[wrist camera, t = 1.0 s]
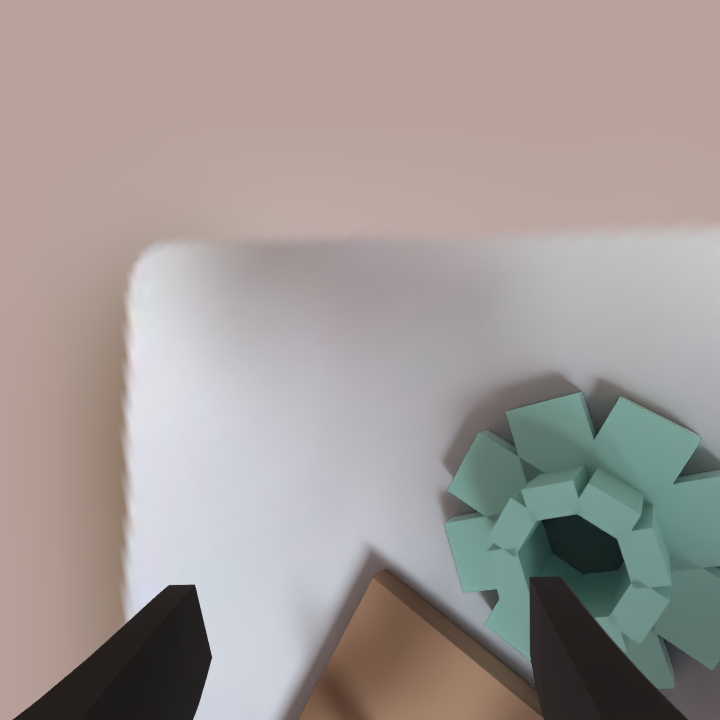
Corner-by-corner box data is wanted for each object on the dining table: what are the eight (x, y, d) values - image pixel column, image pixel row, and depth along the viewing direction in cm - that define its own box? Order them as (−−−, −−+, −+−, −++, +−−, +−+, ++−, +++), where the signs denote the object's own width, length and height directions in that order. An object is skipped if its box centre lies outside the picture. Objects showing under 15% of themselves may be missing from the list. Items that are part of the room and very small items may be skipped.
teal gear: (822, 497, 17) (869, 532, 13) (651, 734, 19) (650, 822, 15) (530, 349, 21) (503, 345, 17) (418, 555, 23) (373, 590, 19)
